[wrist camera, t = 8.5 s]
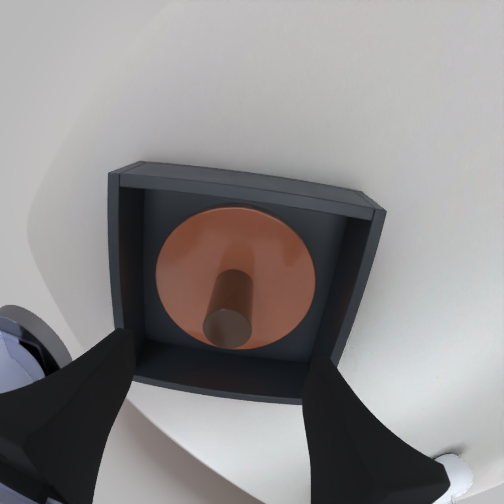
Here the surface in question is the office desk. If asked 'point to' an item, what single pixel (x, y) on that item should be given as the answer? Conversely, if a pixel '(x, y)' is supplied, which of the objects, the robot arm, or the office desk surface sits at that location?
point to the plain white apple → (455, 477)
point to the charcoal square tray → (252, 193)
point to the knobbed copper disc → (235, 276)
